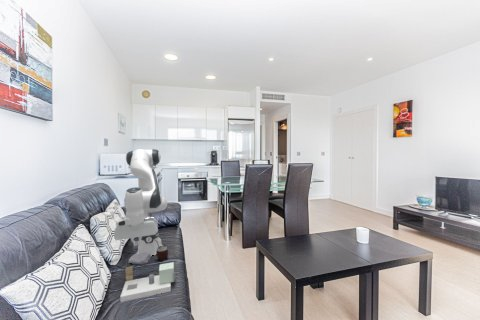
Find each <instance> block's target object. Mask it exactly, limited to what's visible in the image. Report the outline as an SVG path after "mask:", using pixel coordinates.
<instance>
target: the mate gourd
mask: <svg viewBox="0 0 480 320" xmlns="http://www.w3.org/2000/svg"><path fill="white" fill-rule="evenodd" d="M153 240H155V239H153ZM155 241H156V242H157V244H158V241H157V240H155ZM156 253H157V255H156V256H157V261H160V263H161V262H163V261H162V260H163V259H166V260H168V255H169V250H168V247H167V246H166V245H163V246H159V244H158V248H157V251H156Z"/></svg>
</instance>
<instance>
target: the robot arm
mask: <svg viewBox="0 0 480 320" xmlns="http://www.w3.org/2000/svg"><path fill="white" fill-rule="evenodd" d="M125 160H126V161H125V162H126V163H127V165H128V166H130V167H129V168H130V173H131V174H132V175H133V176H134V177H136V178H137V179H138V181H137V183H138V187H129V188H128V189H126V190H125V193H124V194H125V196H124V200H123V201H124V207H125V211H126V212H125V216H123V217H122V218H119V219H118V220H117V221H116V223H115V225H116V226H115V228H114V233H113V238H114V240H115V241H121V240H127V239H130V241H131V242H132V243H133V247H136V246H138V247H137V251H136V252H135V254H142V253H146V252H148V253H150V254H151V257H153V256H152V255H154V256H157V255H156V254H157V253H156V251H157V248H158V244H159V246H164V245H163V243H162V239H161V238H160V234H159V228H158V226H159V225H158V219H157V218H156V217H154V216H150V215H148V214H150V213H156V212H157V213H158V212H161V211H164V210H166V208H167V207H168V199H167V197H165V196H164V195H162V194H161V191H160V187H159V183H158V179H157V174H156V172H155V171H156V170H155V168H154V167H156V165H158V164H159V163H160V162H161V153H160V150H159V149H154V148H152V149H144V148H137V149H135V150H134V151H133V150H131V151H128V152H127V153H126V154H125ZM135 238H138V240H137V241H136V240H135ZM153 239H155V240H157V241H158V244H157V242H156V241H155V240H153Z"/></svg>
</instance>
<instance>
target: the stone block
mask: <svg viewBox="0 0 480 320" xmlns="http://www.w3.org/2000/svg"><path fill="white" fill-rule="evenodd" d="M151 257H152V256H151V254H150V253H148V252H146V253H142V254H136V253H134V254H133V255H132V256H130V258H129V259H128V264H129V263H132V264H133V265H145V264H147V263H148V262H149V261H150V259H151ZM148 260H149V261H148ZM132 264H131V265H132Z"/></svg>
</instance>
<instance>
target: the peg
mask: <svg viewBox="0 0 480 320" xmlns="http://www.w3.org/2000/svg"><path fill="white" fill-rule="evenodd" d="M133 269H134V268H133V265H131V266H126V268H125V270H124V271H125V282H126V281H130V280H134V272H133Z"/></svg>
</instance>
